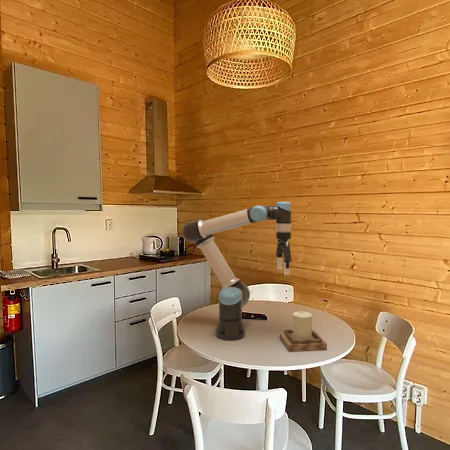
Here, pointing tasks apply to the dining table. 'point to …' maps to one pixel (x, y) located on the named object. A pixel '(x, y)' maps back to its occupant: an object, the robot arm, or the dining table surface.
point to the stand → (302, 342)
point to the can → (302, 325)
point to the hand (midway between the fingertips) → (283, 272)
